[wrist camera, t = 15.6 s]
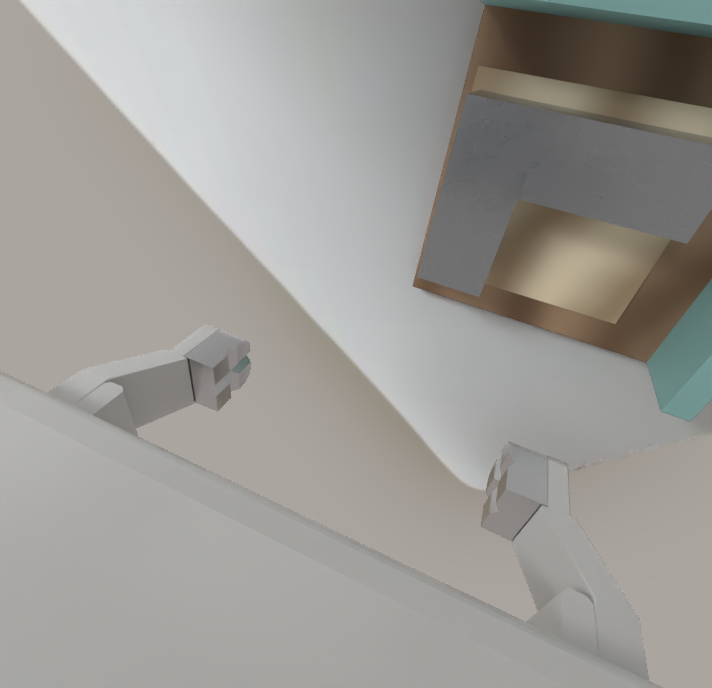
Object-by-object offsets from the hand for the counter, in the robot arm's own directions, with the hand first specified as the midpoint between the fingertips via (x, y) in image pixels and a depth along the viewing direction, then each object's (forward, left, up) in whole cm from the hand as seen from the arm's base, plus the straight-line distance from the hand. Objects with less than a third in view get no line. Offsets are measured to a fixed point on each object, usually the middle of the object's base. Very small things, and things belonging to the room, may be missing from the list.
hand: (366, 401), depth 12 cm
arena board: (+6, +3, -20) cm, 21 cm away
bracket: (+4, +2, -19) cm, 19 cm away
